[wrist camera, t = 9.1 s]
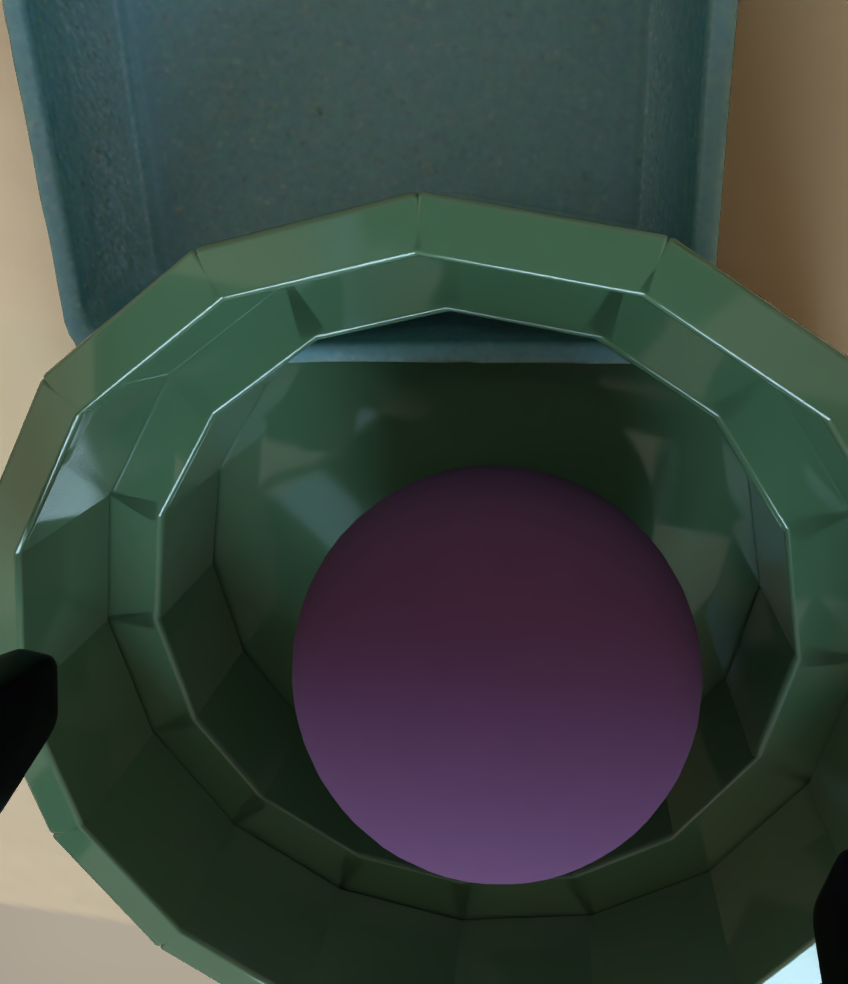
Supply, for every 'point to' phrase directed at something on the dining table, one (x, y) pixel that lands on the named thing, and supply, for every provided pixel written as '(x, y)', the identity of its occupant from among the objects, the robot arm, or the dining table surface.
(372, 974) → the bowl
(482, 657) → the ball
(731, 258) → the dining table surface
